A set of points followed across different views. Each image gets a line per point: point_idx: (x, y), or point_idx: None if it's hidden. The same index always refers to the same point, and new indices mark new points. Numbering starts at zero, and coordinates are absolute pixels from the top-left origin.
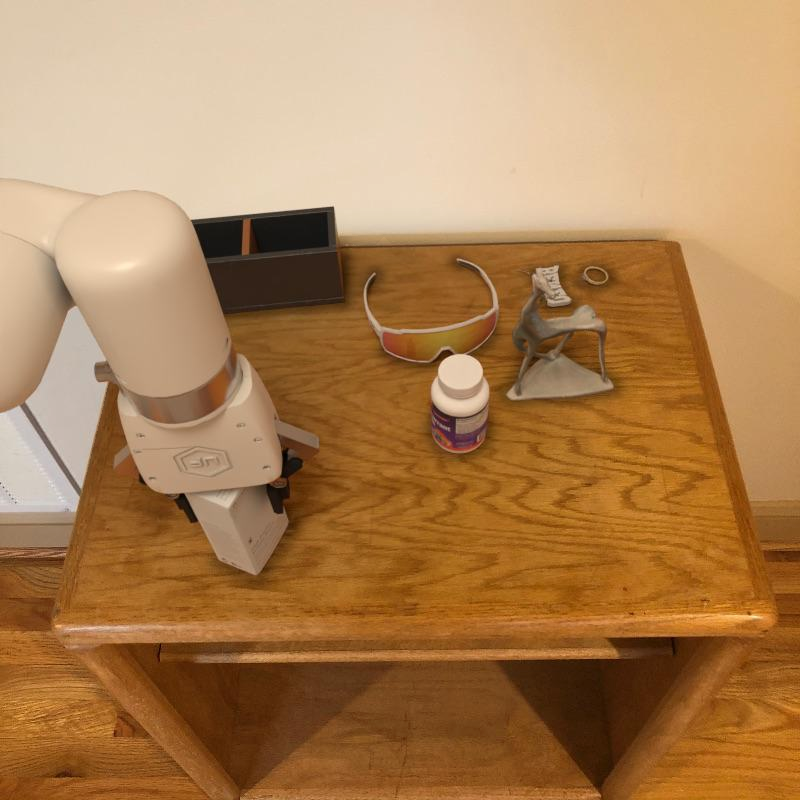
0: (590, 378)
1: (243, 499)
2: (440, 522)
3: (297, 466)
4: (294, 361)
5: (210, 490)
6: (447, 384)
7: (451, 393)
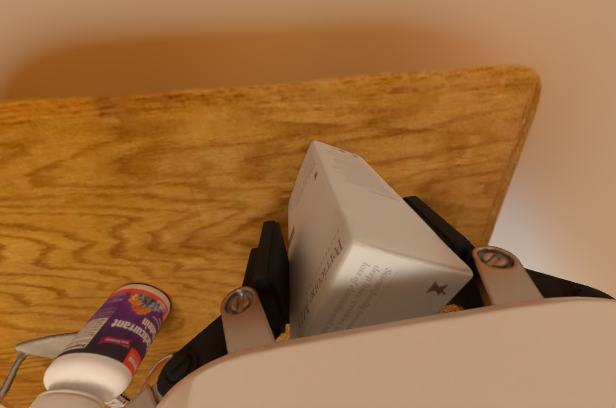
0: (40, 352)
1: (322, 254)
2: (120, 217)
3: (168, 374)
4: None
5: (427, 321)
6: None
7: (63, 399)
